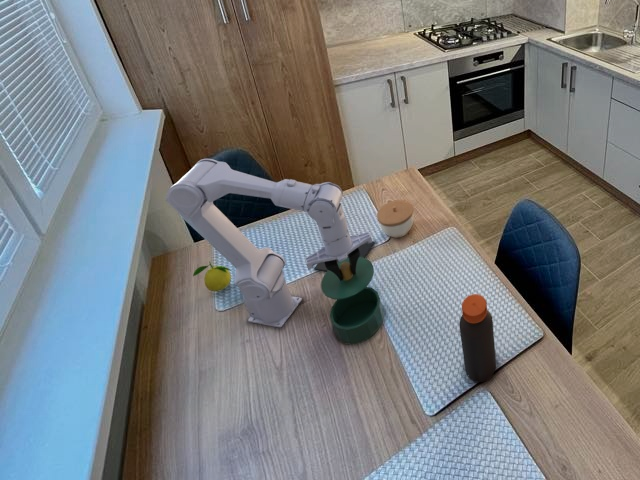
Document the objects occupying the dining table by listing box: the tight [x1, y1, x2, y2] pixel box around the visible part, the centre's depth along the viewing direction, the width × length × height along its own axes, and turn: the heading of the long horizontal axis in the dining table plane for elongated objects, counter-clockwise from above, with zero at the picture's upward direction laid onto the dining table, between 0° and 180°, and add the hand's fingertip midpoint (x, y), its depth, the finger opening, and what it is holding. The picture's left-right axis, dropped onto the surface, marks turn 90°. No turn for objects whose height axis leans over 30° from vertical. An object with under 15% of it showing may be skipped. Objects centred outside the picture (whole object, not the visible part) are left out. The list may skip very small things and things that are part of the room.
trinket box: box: [376, 199, 415, 239], centre depth 124 cm, size 11×11×9 cm
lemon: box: [192, 261, 232, 292], centre depth 106 cm, size 7×6×10 cm
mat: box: [313, 240, 376, 273], centre depth 117 cm, size 12×12×1 cm
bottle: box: [458, 293, 497, 383], centre depth 84 cm, size 7×7×20 cm
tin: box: [329, 286, 384, 345], centre depth 97 cm, size 11×11×5 cm
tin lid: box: [320, 257, 375, 301], centre depth 98 cm, size 12×12×5 cm
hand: (347, 274), depth 99 cm, fingers closed on tin lid, 2 cm apart
